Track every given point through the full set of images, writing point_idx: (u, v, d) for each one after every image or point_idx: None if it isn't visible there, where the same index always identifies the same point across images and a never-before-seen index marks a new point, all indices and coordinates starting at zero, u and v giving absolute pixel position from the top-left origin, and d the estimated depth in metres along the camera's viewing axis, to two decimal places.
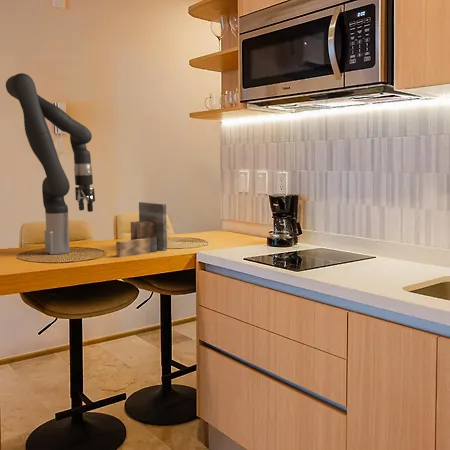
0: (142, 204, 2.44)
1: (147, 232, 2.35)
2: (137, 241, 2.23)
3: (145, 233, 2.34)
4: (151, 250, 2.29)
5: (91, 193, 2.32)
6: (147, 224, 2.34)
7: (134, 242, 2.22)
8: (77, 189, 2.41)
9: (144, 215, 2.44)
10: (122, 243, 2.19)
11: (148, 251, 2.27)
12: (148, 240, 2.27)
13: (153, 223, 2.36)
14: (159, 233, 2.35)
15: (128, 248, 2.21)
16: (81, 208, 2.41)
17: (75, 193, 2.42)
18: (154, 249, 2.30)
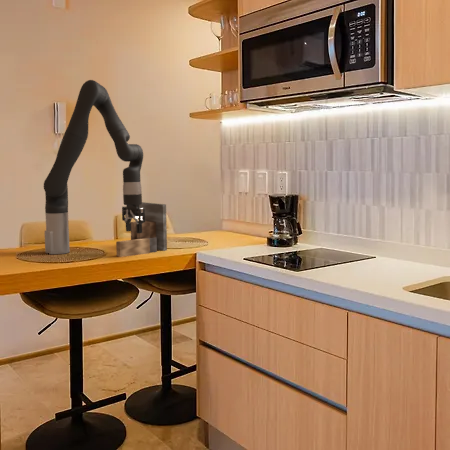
0: (142, 204, 2.44)
1: (147, 232, 2.35)
2: (137, 241, 2.23)
3: (145, 233, 2.34)
4: (151, 250, 2.29)
5: (141, 214, 2.17)
6: (147, 224, 2.34)
7: (134, 242, 2.22)
8: (124, 209, 2.26)
9: None
10: (122, 243, 2.19)
11: (148, 251, 2.27)
12: (148, 240, 2.27)
13: (153, 223, 2.36)
14: (159, 233, 2.35)
15: (128, 248, 2.21)
16: (128, 229, 2.26)
17: (122, 213, 2.27)
18: (154, 249, 2.30)
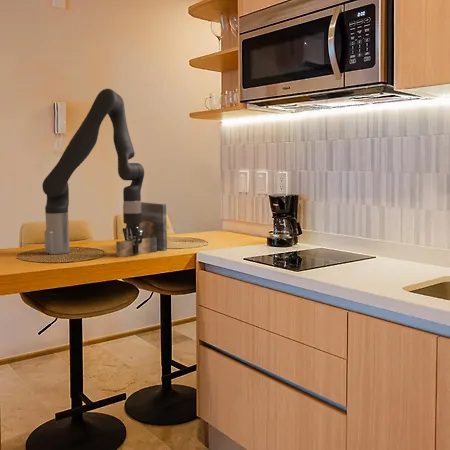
0: (142, 204, 2.44)
1: (147, 232, 2.35)
2: None
3: (145, 233, 2.34)
4: (151, 250, 2.29)
5: (139, 236, 2.19)
6: (147, 224, 2.34)
7: None
8: (125, 230, 2.27)
9: (144, 215, 2.44)
10: (122, 243, 2.19)
11: (148, 251, 2.27)
12: (148, 240, 2.27)
13: (153, 223, 2.36)
14: (159, 233, 2.35)
15: (128, 248, 2.21)
16: None
17: None
18: (154, 249, 2.30)
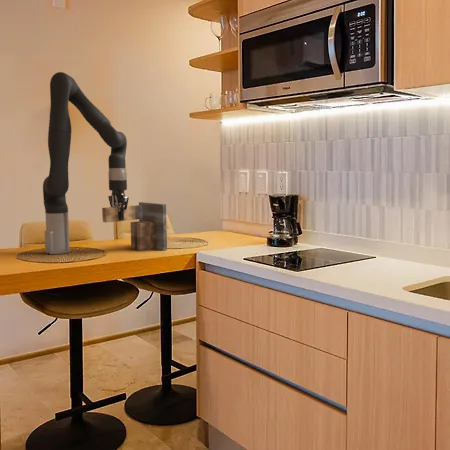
0: (142, 204, 2.44)
1: (147, 232, 2.35)
2: None
3: (145, 233, 2.34)
4: (137, 217, 2.35)
5: (125, 202, 2.25)
6: (147, 224, 2.34)
7: None
8: (110, 197, 2.32)
9: (144, 215, 2.44)
10: (108, 209, 2.25)
11: (134, 218, 2.33)
12: (133, 207, 2.32)
13: (153, 223, 2.36)
14: (159, 233, 2.35)
15: (113, 214, 2.27)
16: None
17: None
18: (140, 216, 2.36)
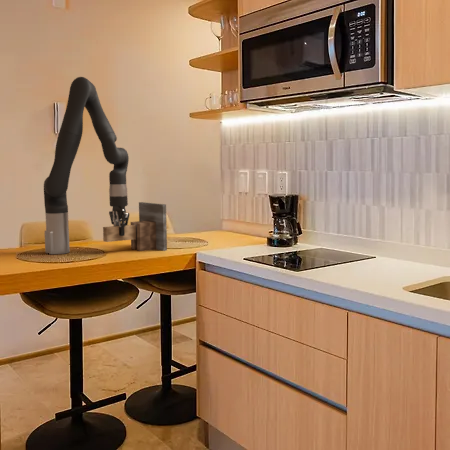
0: (142, 204, 2.44)
1: (147, 232, 2.35)
2: None
3: (145, 233, 2.34)
4: None
5: (125, 218, 2.26)
6: (147, 224, 2.34)
7: None
8: (111, 213, 2.33)
9: (144, 215, 2.44)
10: (109, 228, 2.26)
11: (134, 237, 2.34)
12: (134, 226, 2.34)
13: (153, 223, 2.36)
14: (159, 233, 2.35)
15: (114, 233, 2.27)
16: None
17: (110, 218, 2.33)
18: None
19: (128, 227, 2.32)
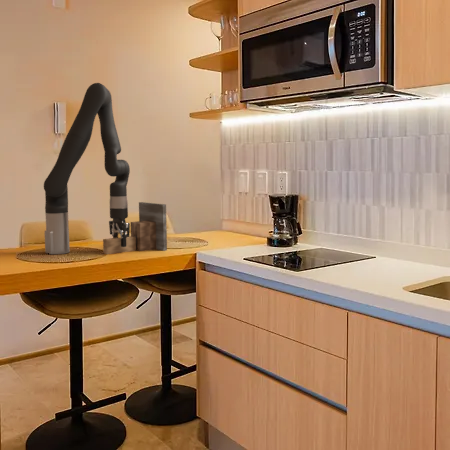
0: (142, 204, 2.44)
1: (147, 232, 2.35)
2: None
3: (145, 233, 2.34)
4: None
5: (126, 229, 2.25)
6: (147, 224, 2.34)
7: (120, 240, 2.29)
8: (111, 223, 2.34)
9: (144, 215, 2.44)
10: (108, 241, 2.26)
11: (134, 248, 2.34)
12: (134, 238, 2.34)
13: (153, 223, 2.36)
14: (159, 233, 2.35)
15: (114, 245, 2.28)
16: None
17: (109, 227, 2.34)
18: None
19: (128, 239, 2.32)
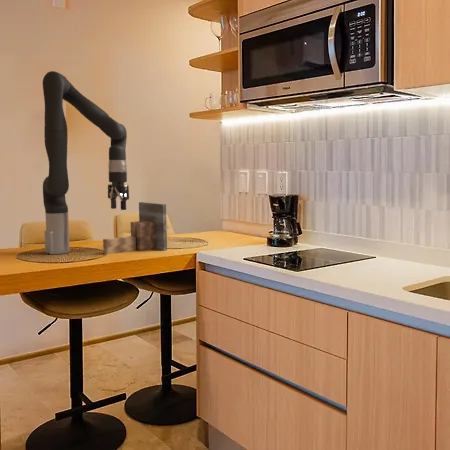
0: (142, 204, 2.44)
1: (147, 232, 2.35)
2: (123, 239, 2.30)
3: (145, 233, 2.34)
4: None
5: (125, 191, 2.23)
6: (147, 224, 2.34)
7: (120, 240, 2.29)
8: (110, 186, 2.32)
9: (144, 215, 2.44)
10: (108, 241, 2.26)
11: (134, 248, 2.34)
12: (134, 238, 2.34)
13: (153, 223, 2.36)
14: (159, 233, 2.35)
15: (114, 245, 2.28)
16: (113, 206, 2.32)
17: None
18: None
19: (128, 239, 2.32)
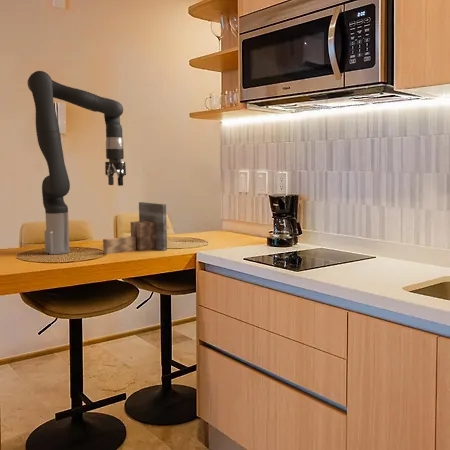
0: (142, 204, 2.44)
1: (147, 232, 2.35)
2: (123, 239, 2.30)
3: (145, 233, 2.34)
4: None
5: (122, 167, 2.31)
6: (147, 224, 2.34)
7: (120, 240, 2.29)
8: (107, 164, 2.40)
9: (144, 215, 2.44)
10: (108, 241, 2.26)
11: (134, 248, 2.34)
12: (134, 238, 2.34)
13: (153, 223, 2.36)
14: (159, 233, 2.35)
15: (114, 245, 2.28)
16: (111, 183, 2.40)
17: (105, 168, 2.41)
18: None
19: (128, 239, 2.32)
